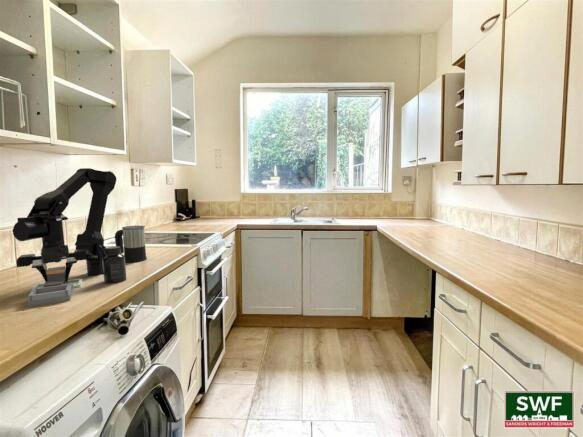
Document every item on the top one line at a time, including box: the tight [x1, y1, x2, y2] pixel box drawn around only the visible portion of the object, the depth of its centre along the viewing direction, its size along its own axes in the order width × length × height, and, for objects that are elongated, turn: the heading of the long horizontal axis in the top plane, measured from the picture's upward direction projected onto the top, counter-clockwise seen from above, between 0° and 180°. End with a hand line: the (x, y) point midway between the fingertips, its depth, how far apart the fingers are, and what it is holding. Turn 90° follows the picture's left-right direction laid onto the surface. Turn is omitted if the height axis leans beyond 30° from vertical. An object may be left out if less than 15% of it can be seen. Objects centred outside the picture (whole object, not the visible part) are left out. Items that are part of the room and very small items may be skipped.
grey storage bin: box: [27, 280, 75, 308], centre depth 100 cm, size 12×10×4 cm
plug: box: [46, 265, 67, 284], centre depth 110 cm, size 5×5×6 cm
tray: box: [29, 277, 83, 294], centre depth 110 cm, size 9×13×1 cm
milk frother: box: [114, 225, 148, 263], centre depth 145 cm, size 14×16×15 cm
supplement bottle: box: [102, 245, 127, 285], centre depth 115 cm, size 7×7×12 cm
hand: (57, 283), depth 110 cm, fingers closed on plug, 4 cm apart
